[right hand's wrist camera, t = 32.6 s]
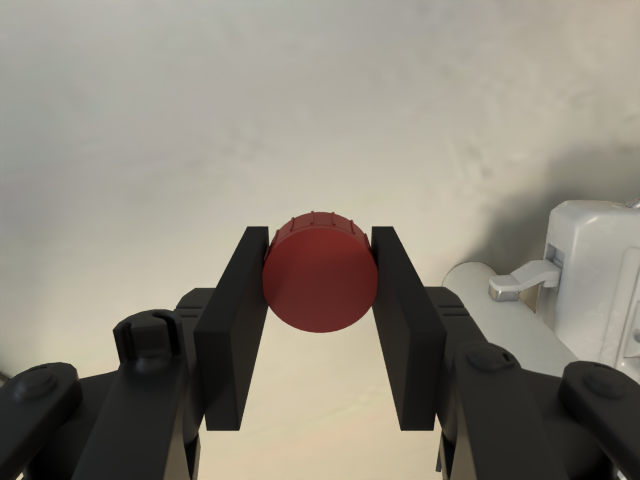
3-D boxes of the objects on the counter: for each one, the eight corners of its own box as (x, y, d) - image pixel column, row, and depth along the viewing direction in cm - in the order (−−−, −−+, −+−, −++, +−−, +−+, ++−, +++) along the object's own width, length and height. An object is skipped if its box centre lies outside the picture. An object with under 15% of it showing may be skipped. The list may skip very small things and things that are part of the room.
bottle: (508, 281, 39) (795, 571, 15) (469, 319, 40) (676, 634, 17) (468, 250, 37) (716, 516, 14) (429, 291, 39) (595, 589, 16)
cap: (305, 188, 13) (303, 202, 12) (395, 248, 14) (405, 269, 13) (246, 273, 15) (237, 296, 13) (333, 324, 15) (335, 352, 14)
